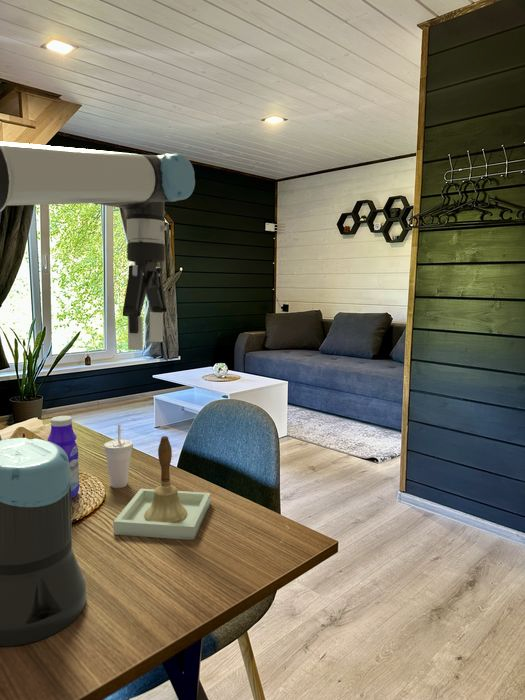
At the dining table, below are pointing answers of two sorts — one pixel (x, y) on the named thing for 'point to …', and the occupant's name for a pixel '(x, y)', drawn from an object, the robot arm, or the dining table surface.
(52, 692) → the dining table surface
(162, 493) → the hand bell
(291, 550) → the dining table surface
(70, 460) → the bottle
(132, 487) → the dining table surface
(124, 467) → the smoothie
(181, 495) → the tray
